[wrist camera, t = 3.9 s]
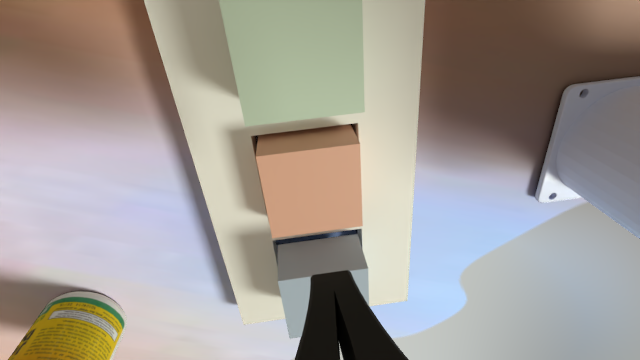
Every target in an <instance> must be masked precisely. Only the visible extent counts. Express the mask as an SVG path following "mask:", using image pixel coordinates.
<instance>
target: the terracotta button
mask: <svg viewBox="0 0 640 360" xmlns="http://www.w3.org/2000/svg"><path fill="white" fill-rule="evenodd" d="M256 161H257V165H258V170H259V175H260V180H261V185H262V190H263V195H264V200H265V205H266V210H267V215H268V220H269V224H270V229H271V234H272V238H279V237H286V236H293V235H301V234H308V233H315V232H323V231H330V230H337V229H345V228H352V227H360V226H363V221H362V189H361V157H360V142H359V140H358V138H357V136H356V134H355V132H354V130H353V128H352V126H351V124H345V125H337V126H329V127H321V128H313V129H305V130H296V131H288V132H280V133H272V134H264V135H258V142H257V150H256Z"/></svg>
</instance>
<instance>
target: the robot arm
mask: <svg viewBox="0 0 640 360" xmlns="http://www.w3.org/2000/svg"><path fill="white" fill-rule="evenodd" d="M582 90H583V93H582V94H581V95H580V92H581V91H582ZM535 198H536V200H537V201H538V202H540V203H547V202H554V201H561V200H569V199H576V198H584V199H585V200H587V201H588V202H589V203H591V204H592V205H593V206H595V207H596V208H598V209H599V210H600V211H602V212H603V213H605V214H606V215H607V216H609V217H610V218H612V219H613V220H614V221H616V222H617V223H618V224H620V225H621V226H623V227H624V228H625V229H627V230H628V231H630V232H631V233H633V234H634V235H635V236H636V237H638V238H639V239H640V76H638V77H629V78H621V79H613V80H604V81H596V82H588V83H579V84H573V85H570V86H568V87H567V88H566V89H565V90H564V93H563V95H562V99H561V103H560V106H559V110H558V114H557V117H556V121H555V125H554V128H553V132H552V136H551V139H550V143H549V147H548V150H547V154H546V157H545V161H544V165H543V168H542V172H541V176H540V179H539V183H538V187H537V190H536V194H535ZM310 282H311V285H310V297H309V303H308V310H307V314H306V319H305V324H304V328H303V332H302V336H301V340H300V343H299V347H298V350H297V354H296V357H295V360H340V351H339V344H340V348H341V352H342V355H343V359H344V360H408V358H407V357H406V356H405V355H404V354H403V352H402V351H401V350H400V349H399V348H398V346H397V345H396V344H395V342H394V341H393V340H392V338H391V337H390V336H389V334H388V333H387V332H386V330H385V329H384V328H383V326H382V325H381V323H380V322H379V321H378V319H377V318H376V316H375V315H374V313H373V312H372V310H371V309H370V307H369V305H368V304H367V302H366V301H365V299H364V297H363V295H362V294H361V292H360V290H359V288H358V286H357V285H356V283H355V280H354V278H353V276H352V274H351V272H350V271H348V270H344V271H337V272H330V273H323V274H316V275H313V276H312V277H311V278H310Z"/></svg>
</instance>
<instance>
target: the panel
mask: <svg viewBox="0 0 640 360" xmlns="http://www.w3.org/2000/svg"><path fill="white" fill-rule="evenodd" d="M144 3H145V6H146V9H147V12H148V16H149V19H150V22H151V25H152V29H153V32H154V35H155V38H156V42H157V45H158V48H159V51H160V54H161V58H162V61H163V64H164V67H165V71H166V74H167V77H168V80H169V84H170V87H171V90H172V93H173V97H174V100H175V103H176V106H177V110H178V113H179V116H180V119H181V123H182V126H183V129H184V132H185V136H186V139H187V142H188V145H189V149H190V152H191V155H192V158H193V162H194V165H195V168H196V171H197V175H198V178H199V181H200V184H201V188H202V191H203V194H204V197H205V201H206V204H207V207H208V210H209V214H210V217H211V220H212V223H213V227H214V230H215V233H216V236H217V240H218V243H219V246H220V249H221V253H222V256H223V259H224V262H225V265H226V269H227V272H228V275H229V278H230V282H231V285H232V288H233V291H234V295H235V298H236V301H237V304H238V308H239V311H240V314H241V317H242V321H243V324H244V325H245V324H252V323H259V322H266V321H273V320H279V319H286V318H285V313H284V308H283V304H282V299H281V294H280V289H279V285H278V250H277V245H276V240H281V239H288V238H296V237H303V236H310V235H318V234H325V233H332V232H340V231H347V230H354V229H357V232H358V237H359V240H360V244H361V247H362V250H363V253H364V256H365V260H366V263H367V266H368V281H369V306H375V305H381V304H388V303H395V302H402V301H407V296H408V280H409V263H410V246H411V230H412V213H413V196H414V179H415V163H416V146H417V129H418V113H419V96H420V79H421V62H422V46H423V29H424V12H425V0H362V15H363V59H364V104H365V112H362V113H354V114H346V115H337V116H329V117H321V118H313V119H304V120H296V121H288V122H280V123H271V124H263V125H255V126H246V127H245V123H244V118H243V113H242V108H241V104H240V99H239V94H238V89H237V85H236V80H235V75H234V70H233V66H232V61H231V56H230V51H229V47H228V42H227V37H226V32H225V28H224V23H223V18H222V13H221V8H220V4H219V0H144ZM345 124H353V130H354V132H355V134H356V136H357V138H358V140H359V142H360V157H361V189H362V221H363V226H360V227H352V228H345V229H337V230H330V231H323V232H315V233H308V234H301V235H293V236H286V237H279V238H272V234H271V229H270V224H269V220H268V215H267V210H266V205H265V200H264V195H263V190H262V185H261V180H260V175H259V170H258V165H257V161H256V150H257V144H256V139H255V135H264V134H272V133H280V132H288V131H296V130H305V129H313V128H321V127H329V126H337V125H345Z"/></svg>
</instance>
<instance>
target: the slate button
mask: <svg viewBox="0 0 640 360" xmlns="http://www.w3.org/2000/svg"><path fill="white" fill-rule="evenodd" d="M344 270H348V271H350V272H351V274H352V276H353V278H354V280H355V283H356V285H357V286H358V288H359V290H360V292H361V294H362V295H363V297H364V299H365V301H366V302H367V304H368V305H369V281H368V266H367V263H366V260H365V256H364V253H363V250H362V247H361V244H360V240H359V237H358V234H353V235H346V236H338V237H331V238H324V239H317V240H309V241H302V242H295V243H287V244H280V245H278V285H279V289H280V294H281V299H282V304H283V308H284V313H285V318H286V323H287V327H288V332H289V337H290V338H297V337H301V336H302V332H303V328H304V324H305V319H306V314H307V310H308V303H309V297H310V285H311V282H310V278H311V277H312V276H313V275H316V274H323V273H330V272H337V271H344Z"/></svg>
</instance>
